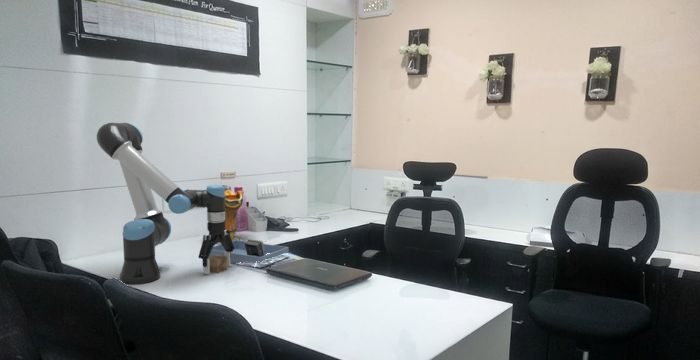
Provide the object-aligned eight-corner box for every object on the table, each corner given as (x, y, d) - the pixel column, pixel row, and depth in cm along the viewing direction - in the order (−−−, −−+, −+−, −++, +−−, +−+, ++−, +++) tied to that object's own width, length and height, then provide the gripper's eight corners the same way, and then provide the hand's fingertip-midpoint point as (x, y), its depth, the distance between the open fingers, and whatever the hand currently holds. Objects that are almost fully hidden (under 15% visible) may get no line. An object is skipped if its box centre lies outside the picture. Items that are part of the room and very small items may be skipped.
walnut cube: (217, 273, 206) (217, 259, 206) (206, 271, 209) (206, 257, 208) (227, 269, 212) (227, 256, 211) (216, 267, 214) (216, 254, 214)
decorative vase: (195, 243, 258) (196, 190, 257) (220, 236, 280) (221, 188, 278) (229, 246, 251) (230, 192, 250) (251, 239, 273) (253, 190, 272)
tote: (260, 268, 213) (260, 257, 213) (205, 259, 228) (205, 248, 227) (288, 257, 233) (288, 247, 232) (236, 249, 247) (236, 239, 247)
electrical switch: (266, 258, 228) (265, 239, 226) (259, 262, 224) (257, 242, 222) (252, 255, 233) (250, 237, 231) (244, 259, 229) (242, 240, 227)
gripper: (202, 227, 195) (203, 278, 198) (241, 217, 217) (242, 264, 219) (188, 225, 199) (189, 276, 201) (228, 216, 221) (229, 262, 223)
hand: (217, 269), depth 210 cm, fingers open, 12 cm apart
